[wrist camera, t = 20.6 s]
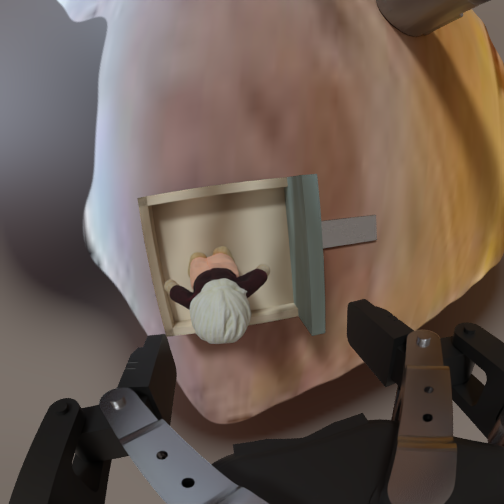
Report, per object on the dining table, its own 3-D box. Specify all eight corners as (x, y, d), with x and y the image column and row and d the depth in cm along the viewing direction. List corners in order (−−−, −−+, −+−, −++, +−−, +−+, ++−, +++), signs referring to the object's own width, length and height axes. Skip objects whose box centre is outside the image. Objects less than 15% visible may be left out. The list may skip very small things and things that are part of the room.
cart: (284, 178, 28) (316, 174, 19) (295, 295, 31) (325, 332, 22) (150, 196, 27) (123, 199, 18) (172, 314, 30) (160, 359, 21)
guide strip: (374, 215, 31) (375, 215, 30) (375, 239, 31) (376, 239, 31) (147, 245, 28) (146, 246, 28) (152, 272, 28) (152, 273, 28)
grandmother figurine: (187, 296, 26) (171, 379, 13) (170, 259, 25) (136, 321, 12) (262, 266, 26) (305, 329, 14) (248, 228, 25) (283, 264, 13)
